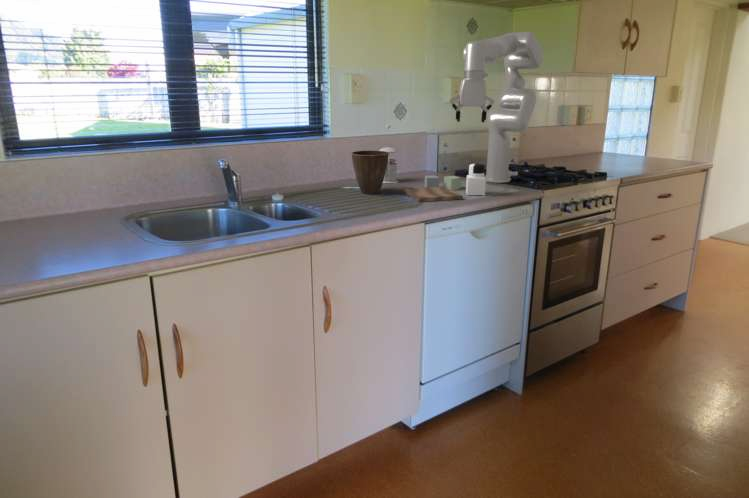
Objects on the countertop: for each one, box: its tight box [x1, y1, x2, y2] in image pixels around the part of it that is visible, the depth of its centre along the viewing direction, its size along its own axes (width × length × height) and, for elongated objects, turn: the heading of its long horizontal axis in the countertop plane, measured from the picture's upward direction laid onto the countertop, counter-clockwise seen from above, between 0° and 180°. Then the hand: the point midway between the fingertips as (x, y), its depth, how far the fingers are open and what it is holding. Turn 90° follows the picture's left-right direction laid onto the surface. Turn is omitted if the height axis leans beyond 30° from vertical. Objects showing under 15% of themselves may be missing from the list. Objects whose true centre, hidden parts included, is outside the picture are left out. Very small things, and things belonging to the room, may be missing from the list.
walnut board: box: [403, 186, 464, 203], centre depth 207 cm, size 18×18×2 cm
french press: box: [378, 124, 399, 184], centre depth 230 cm, size 10×12×25 cm
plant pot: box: [351, 150, 390, 195], centre depth 211 cm, size 15×15×16 cm
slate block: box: [424, 175, 440, 188], centre depth 220 cm, size 5×5×5 cm
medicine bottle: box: [465, 163, 487, 197], centre depth 209 cm, size 7×7×12 cm
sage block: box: [443, 175, 462, 191], centre depth 220 cm, size 5×5×5 cm
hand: (470, 121), depth 207 cm, fingers open, 9 cm apart
